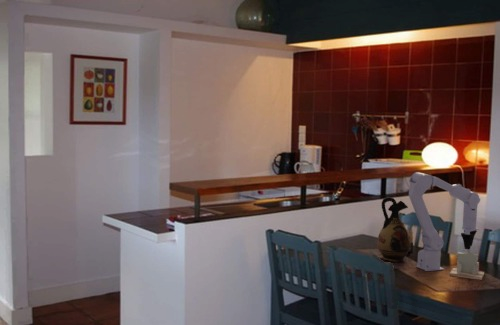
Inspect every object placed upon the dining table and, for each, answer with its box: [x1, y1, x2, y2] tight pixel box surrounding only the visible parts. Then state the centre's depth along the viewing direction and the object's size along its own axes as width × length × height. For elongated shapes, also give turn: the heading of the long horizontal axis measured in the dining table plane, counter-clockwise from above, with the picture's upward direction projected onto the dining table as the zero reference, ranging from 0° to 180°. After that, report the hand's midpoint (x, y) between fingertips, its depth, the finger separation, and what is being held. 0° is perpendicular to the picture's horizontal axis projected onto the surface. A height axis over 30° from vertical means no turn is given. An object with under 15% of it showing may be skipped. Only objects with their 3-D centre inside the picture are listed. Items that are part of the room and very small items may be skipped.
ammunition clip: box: [407, 228, 414, 253], centre depth 292 cm, size 11×2×12 cm, turn 101°
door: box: [456, 251, 479, 273], centre depth 255 cm, size 3×8×8 cm, turn 63°
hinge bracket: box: [449, 261, 485, 281], centre depth 253 cm, size 10×13×5 cm
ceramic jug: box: [376, 196, 411, 263], centre depth 277 cm, size 17×15×30 cm
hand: (468, 247), depth 265 cm, fingers open, 7 cm apart
